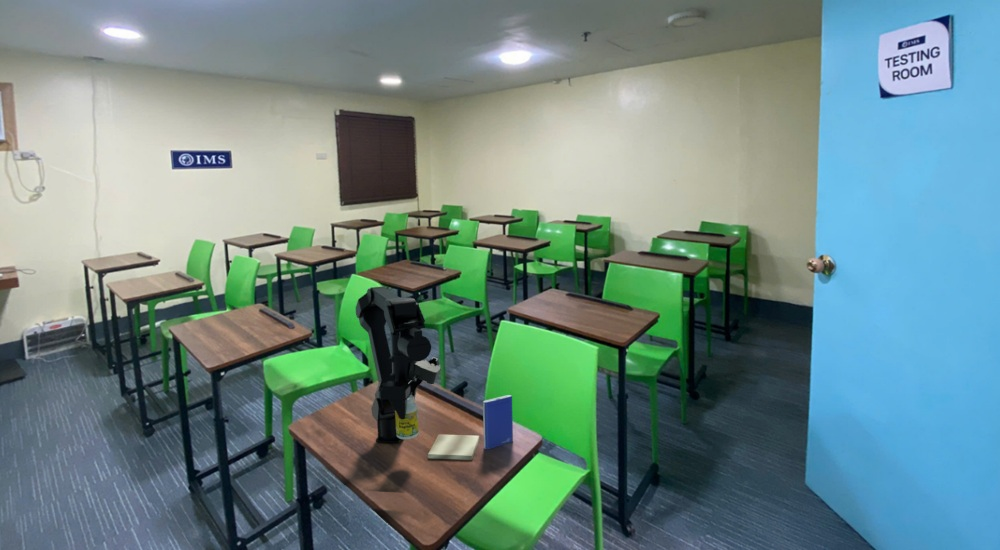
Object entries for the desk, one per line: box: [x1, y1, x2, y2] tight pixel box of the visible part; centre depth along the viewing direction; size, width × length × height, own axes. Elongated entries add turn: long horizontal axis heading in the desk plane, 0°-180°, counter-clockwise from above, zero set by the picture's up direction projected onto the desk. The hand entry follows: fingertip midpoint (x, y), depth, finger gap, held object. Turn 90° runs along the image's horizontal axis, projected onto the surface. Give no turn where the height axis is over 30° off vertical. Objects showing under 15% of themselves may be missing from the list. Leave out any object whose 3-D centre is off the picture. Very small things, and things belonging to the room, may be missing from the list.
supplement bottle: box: [395, 395, 419, 440], centre depth 114 cm, size 5×5×10 cm
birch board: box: [427, 433, 480, 461], centre depth 121 cm, size 11×11×2 cm
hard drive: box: [482, 394, 514, 450], centre depth 122 cm, size 2×8×12 cm, turn 121°
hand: (406, 414), depth 114 cm, fingers closed on supplement bottle, 5 cm apart
